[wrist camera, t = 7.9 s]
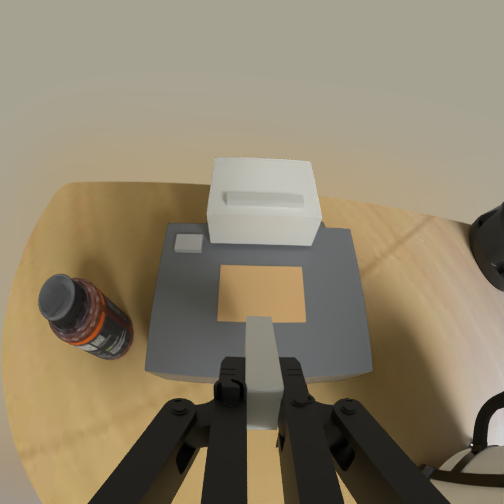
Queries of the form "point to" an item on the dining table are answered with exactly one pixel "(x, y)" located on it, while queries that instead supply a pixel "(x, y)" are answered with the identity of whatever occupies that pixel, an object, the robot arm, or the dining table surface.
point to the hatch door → (263, 202)
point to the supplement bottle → (85, 317)
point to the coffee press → (473, 466)
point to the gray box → (257, 304)
